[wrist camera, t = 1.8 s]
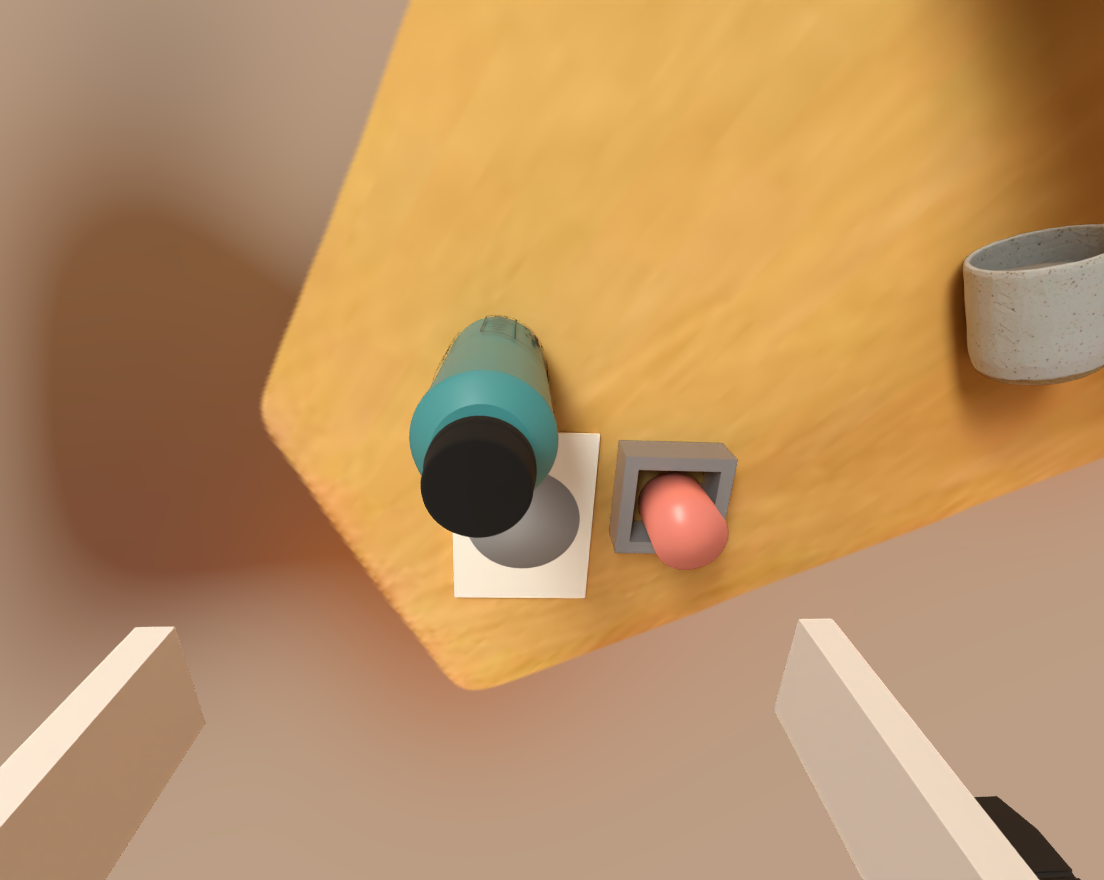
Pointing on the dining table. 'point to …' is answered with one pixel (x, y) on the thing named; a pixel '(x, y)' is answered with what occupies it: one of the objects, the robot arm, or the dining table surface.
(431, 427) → the beverage bottle
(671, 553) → the button
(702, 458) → the button base
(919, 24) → the dining table surface
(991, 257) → the ceramic mug
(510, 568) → the paper card
